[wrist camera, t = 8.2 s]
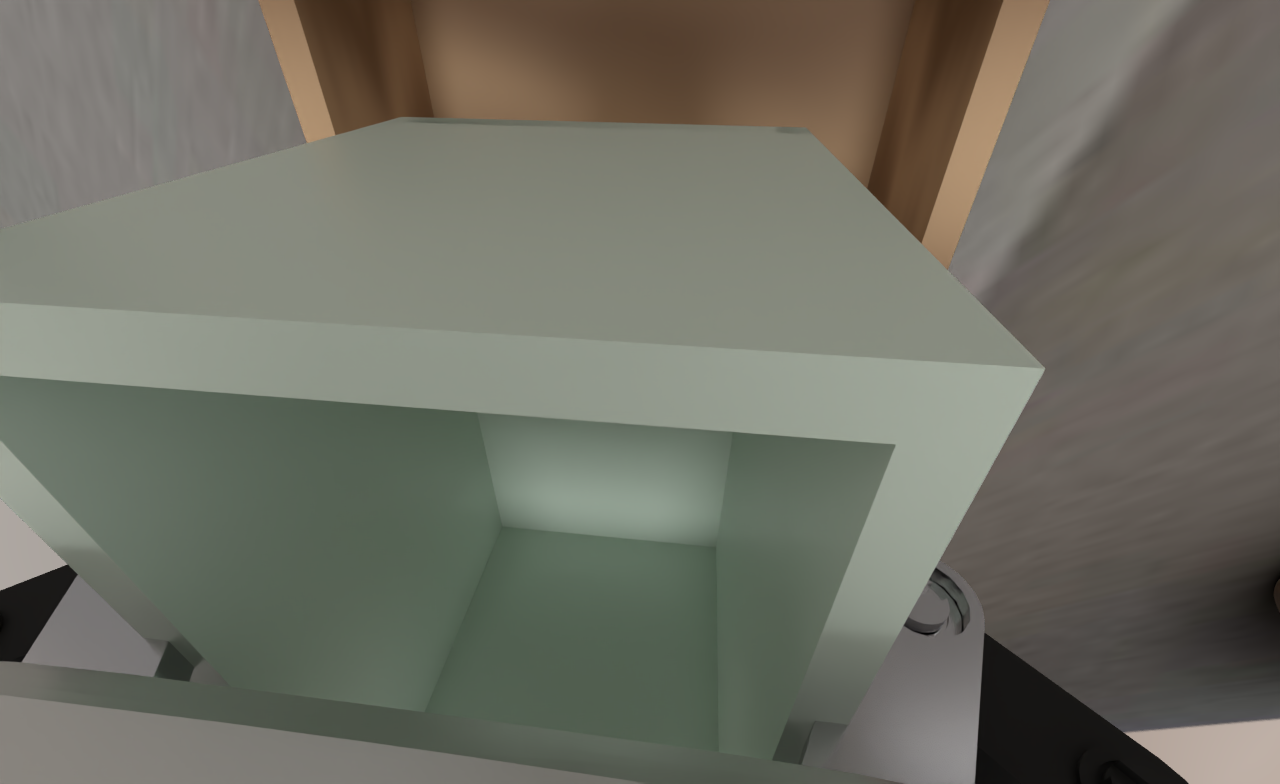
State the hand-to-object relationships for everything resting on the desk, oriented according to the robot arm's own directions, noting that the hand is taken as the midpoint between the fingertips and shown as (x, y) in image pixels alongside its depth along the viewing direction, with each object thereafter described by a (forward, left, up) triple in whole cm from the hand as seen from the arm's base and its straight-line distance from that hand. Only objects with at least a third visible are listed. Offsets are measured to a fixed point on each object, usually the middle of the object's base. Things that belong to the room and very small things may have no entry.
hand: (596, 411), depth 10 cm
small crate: (0, 0, -1) cm, 1 cm away
